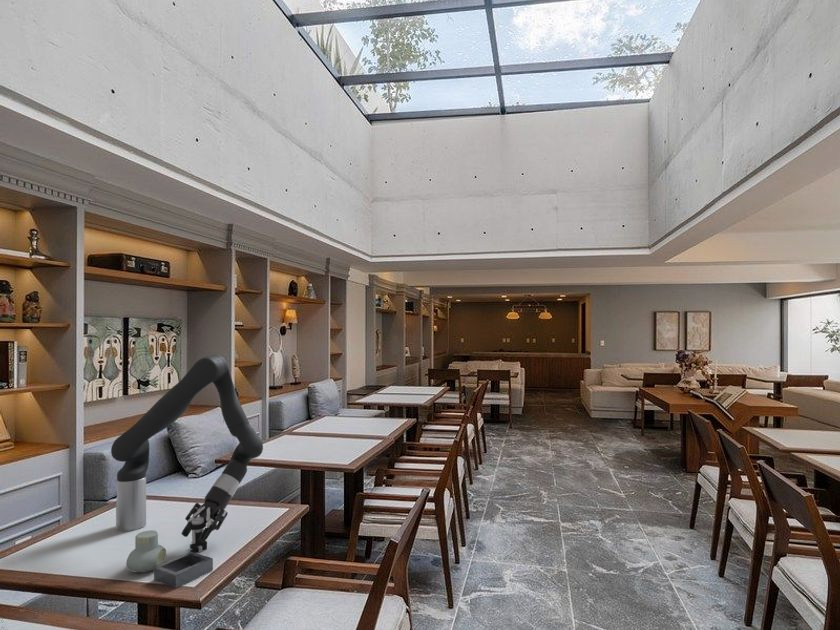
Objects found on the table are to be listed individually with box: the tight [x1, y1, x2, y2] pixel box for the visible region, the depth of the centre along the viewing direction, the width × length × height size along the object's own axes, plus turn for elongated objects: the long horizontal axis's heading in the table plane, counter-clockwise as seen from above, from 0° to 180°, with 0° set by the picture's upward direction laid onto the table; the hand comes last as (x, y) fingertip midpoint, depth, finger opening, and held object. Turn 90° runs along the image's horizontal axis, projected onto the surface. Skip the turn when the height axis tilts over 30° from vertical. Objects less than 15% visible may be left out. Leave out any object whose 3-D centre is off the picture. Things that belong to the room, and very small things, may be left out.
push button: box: [185, 517, 208, 554], centre depth 163 cm, size 7×5×10 cm
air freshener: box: [125, 530, 167, 573], centre depth 152 cm, size 11×8×10 cm
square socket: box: [153, 551, 214, 589], centre depth 147 cm, size 10×12×4 cm
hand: (192, 538), depth 162 cm, fingers open, 8 cm apart
